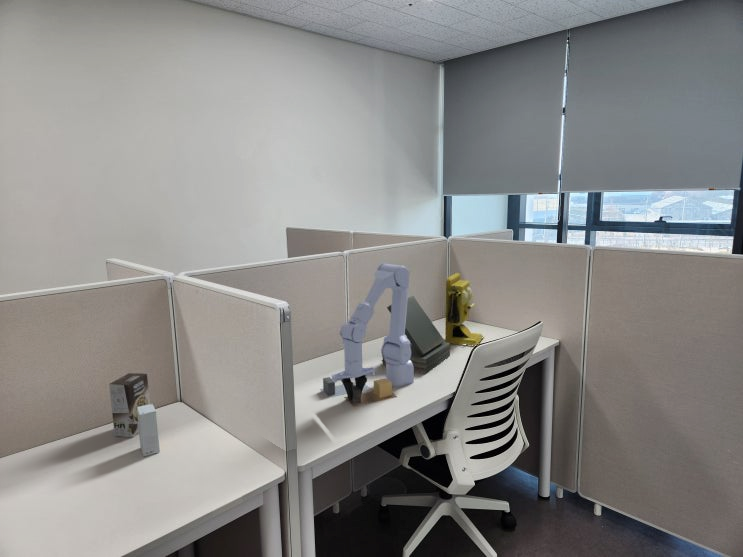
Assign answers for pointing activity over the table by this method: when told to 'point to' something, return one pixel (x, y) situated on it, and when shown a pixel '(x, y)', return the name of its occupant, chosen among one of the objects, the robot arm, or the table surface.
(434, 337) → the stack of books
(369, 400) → the walnut strip
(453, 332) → the vintage telephone
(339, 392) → the grey strip
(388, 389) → the ochre block
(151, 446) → the skincare box
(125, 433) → the coffee box
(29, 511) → the table surface
